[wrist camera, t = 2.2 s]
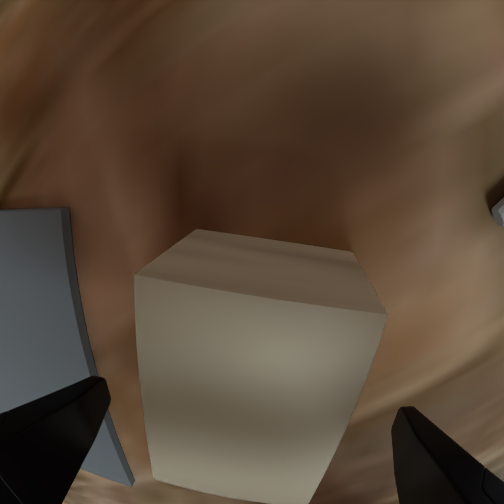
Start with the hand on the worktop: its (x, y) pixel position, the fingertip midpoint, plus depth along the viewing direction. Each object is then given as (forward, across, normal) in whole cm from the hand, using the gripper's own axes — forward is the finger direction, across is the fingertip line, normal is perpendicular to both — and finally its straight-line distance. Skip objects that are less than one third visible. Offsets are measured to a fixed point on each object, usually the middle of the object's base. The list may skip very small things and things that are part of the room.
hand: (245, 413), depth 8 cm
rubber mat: (+4, +17, +4) cm, 18 cm away
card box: (+4, 0, 0) cm, 4 cm away
